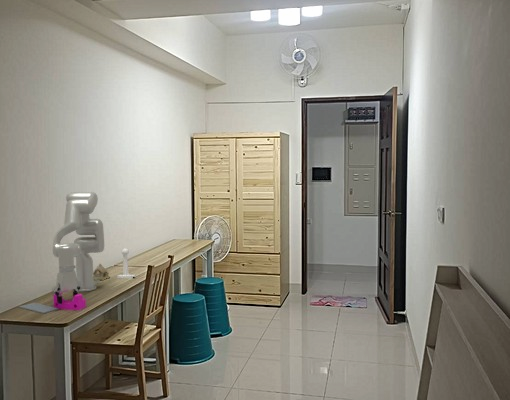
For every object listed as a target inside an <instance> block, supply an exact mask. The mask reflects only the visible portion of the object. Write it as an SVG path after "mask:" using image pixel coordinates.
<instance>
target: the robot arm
mask: <svg viewBox="0 0 510 400" xmlns="http://www.w3.org/2000/svg"><path fill="white" fill-rule="evenodd" d="M98 198H99V197H98V195H97V193H96V192H93V191H91V192H90V191H88V192H87V191H86V192H85V191H84V192H83V191H81V192H80V191H79V192H77V191H76V192H69V193H67V194H66V196H65V199H66V204H65V212H64V223H63V225H62V227H61V228H59V230H58V231H57V232H56V233H55V235H54V238H53V243H52V244H53V245H52V255H53V257H54V258H58V272H57V275H56V280H55V281H56V285H55V286H54V287H53V288H51V289H52V293H53V295H54V294H55V295H56V296H57V303H59V304H62V297H63V295H62V294H64V293H65V292H70V291H72V299H73V298H74V296H75V295H77V294H79V292H82V293H83V292H90V291H95V290H96V289H97V286H96V285H99V284H101V281H93V276H94V274H93V272H94V263H93V262H94V261H93V257H92V256H91V255H90V254H92V253H102V252H103V251H104V250H105V234H104V223H103V221H102V220H101V219H98V218H91V217H90V215H91V214H93V212H94V210H95V209H96V207H97V205H98V201H99V199H98ZM73 232H75V233H76V234H77V235H79V236H80V237H76V238H75V239H74V240H73V241H74V242H73V243H72V242H71V243H68V242H67V243H66V242H65V243H61V241H62V240H63V238H65V237H66V236H67V235H68V234H69V235H70V234H71V233H73ZM74 262H75V263H74ZM75 268H76V269H75ZM61 295H62V296H61Z"/></svg>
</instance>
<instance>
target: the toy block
mask: <svg viewBox="0 0 510 400" xmlns="http://www.w3.org/2000/svg"><path fill="white" fill-rule="evenodd" d="M61 296H62V304H59V303H57V296H56V295H55V294H54V293H53V297H52V299H53V307H55V308H59V310H69V311H70V310H71V311H80V310H82V309H85V308H87V306H86V304H87V303H86V302H87V301H86V298H83V297H84V296H83V294H81V293H78V294H77V295H75V296H74V298H73V297H72V300H70V299H67V300H65V299H64V297H63V295H61Z"/></svg>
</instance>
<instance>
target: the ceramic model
mask: <svg viewBox="0 0 510 400" xmlns="http://www.w3.org/2000/svg"><path fill="white" fill-rule="evenodd" d="M109 274H110V272H109V271H108V270H107V269H106V268H105V267H104V266H103V265H102V264H101V263H98V266H97V267H96V268H95V269H94V270H93V281H100V280H102V281H104V279H105V280H107V279H110V278H109V277H110V275H109ZM106 278H107V279H106ZM100 282H101V281H100Z"/></svg>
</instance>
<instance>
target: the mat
mask: <svg viewBox="0 0 510 400" xmlns="http://www.w3.org/2000/svg"><path fill="white" fill-rule="evenodd" d="M18 308H19V309H23V310H27V309H28V310H27V311H31V310H32V311H31V312H34V313H35V312H36V313H39V314H47V313H52V312H55V311H59V310H60V309H59V308H55V307H54V306H50V305H47V304H41V303H38V302H32V303H28V304H23V305H19V306H18Z"/></svg>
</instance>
